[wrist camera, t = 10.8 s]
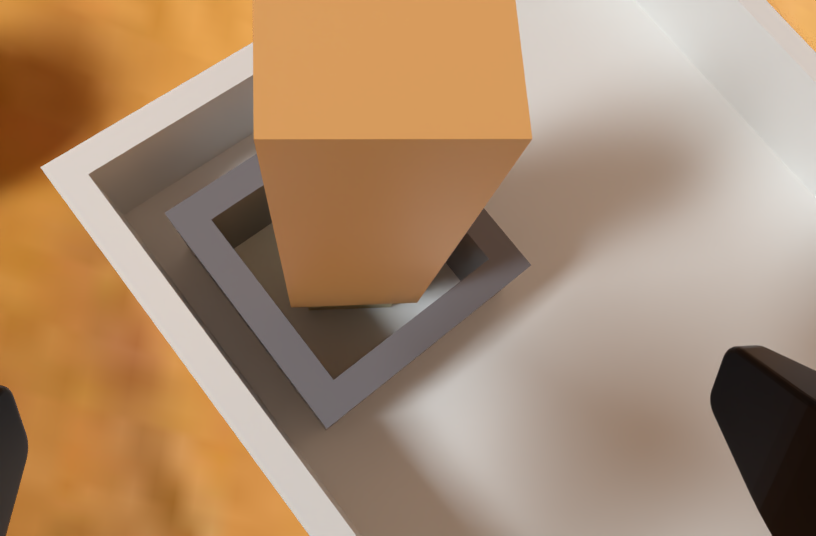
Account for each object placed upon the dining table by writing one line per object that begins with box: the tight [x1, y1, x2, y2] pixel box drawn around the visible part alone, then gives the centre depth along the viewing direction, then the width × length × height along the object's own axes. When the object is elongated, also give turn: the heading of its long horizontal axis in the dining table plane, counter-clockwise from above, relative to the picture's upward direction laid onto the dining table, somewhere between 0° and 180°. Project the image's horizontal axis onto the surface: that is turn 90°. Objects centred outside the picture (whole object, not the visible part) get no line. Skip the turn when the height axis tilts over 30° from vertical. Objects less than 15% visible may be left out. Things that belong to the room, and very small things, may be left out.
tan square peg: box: [253, 0, 532, 310], centre depth 14 cm, size 3×3×12 cm
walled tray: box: [40, 0, 816, 536], centre depth 19 cm, size 24×20×4 cm
